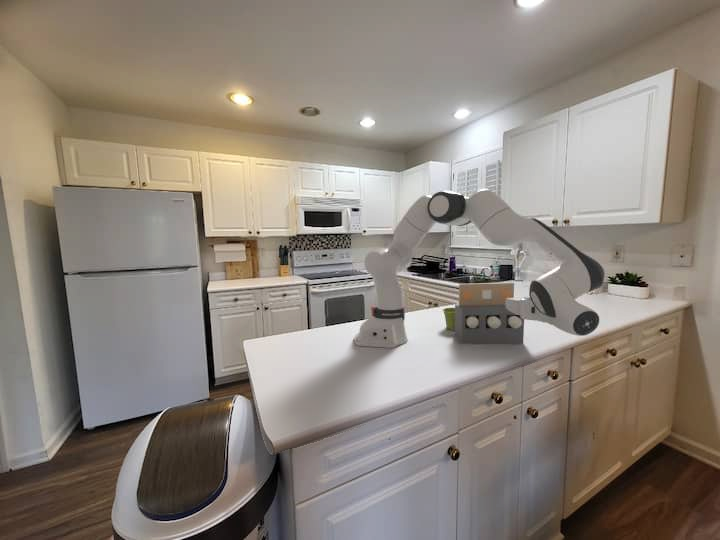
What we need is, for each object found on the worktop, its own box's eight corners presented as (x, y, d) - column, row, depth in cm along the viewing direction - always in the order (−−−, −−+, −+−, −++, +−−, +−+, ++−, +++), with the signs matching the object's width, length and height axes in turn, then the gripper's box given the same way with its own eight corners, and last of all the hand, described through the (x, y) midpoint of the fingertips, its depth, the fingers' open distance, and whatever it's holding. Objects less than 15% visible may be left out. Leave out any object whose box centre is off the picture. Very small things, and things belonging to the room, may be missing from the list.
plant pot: (440, 330, 135) (440, 311, 134) (445, 324, 144) (445, 306, 143) (462, 332, 131) (462, 313, 130) (465, 326, 139) (465, 308, 138)
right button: (510, 328, 114) (510, 317, 114) (505, 325, 118) (506, 314, 117) (521, 328, 114) (522, 317, 113) (517, 325, 117) (517, 314, 117)
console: (461, 344, 118) (462, 287, 115) (454, 335, 128) (455, 283, 125) (523, 343, 117) (525, 286, 114) (511, 334, 126) (513, 281, 124)
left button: (467, 328, 116) (467, 317, 115) (464, 325, 120) (464, 314, 119) (478, 328, 116) (478, 317, 115) (475, 325, 119) (475, 314, 119)
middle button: (489, 328, 114) (489, 317, 114) (485, 325, 118) (485, 315, 117) (500, 328, 114) (500, 317, 114) (496, 325, 118) (497, 315, 117)
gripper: (585, 297, 91) (557, 289, 104) (517, 299, 92) (498, 291, 105) (584, 317, 91) (556, 306, 105) (517, 319, 92) (498, 308, 106)
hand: (527, 299), depth 105 cm, fingers closed
